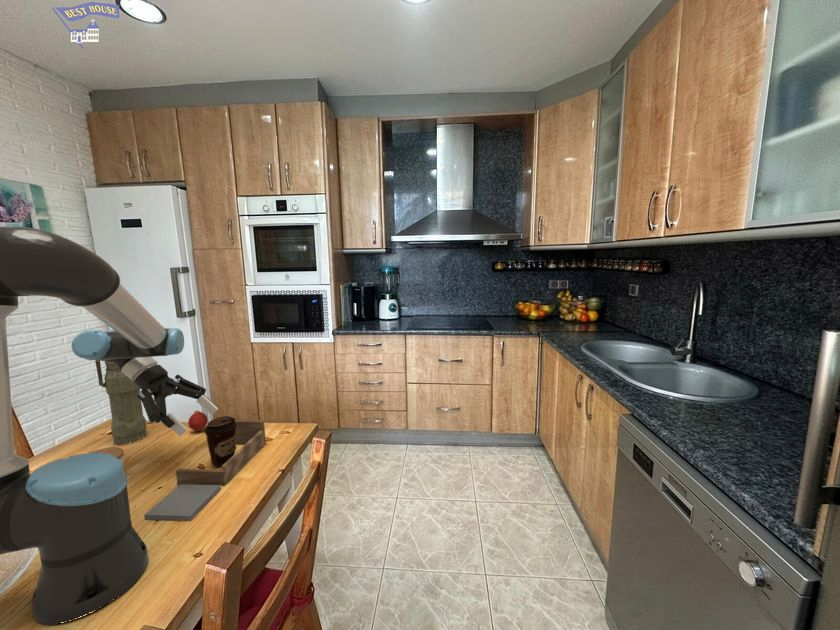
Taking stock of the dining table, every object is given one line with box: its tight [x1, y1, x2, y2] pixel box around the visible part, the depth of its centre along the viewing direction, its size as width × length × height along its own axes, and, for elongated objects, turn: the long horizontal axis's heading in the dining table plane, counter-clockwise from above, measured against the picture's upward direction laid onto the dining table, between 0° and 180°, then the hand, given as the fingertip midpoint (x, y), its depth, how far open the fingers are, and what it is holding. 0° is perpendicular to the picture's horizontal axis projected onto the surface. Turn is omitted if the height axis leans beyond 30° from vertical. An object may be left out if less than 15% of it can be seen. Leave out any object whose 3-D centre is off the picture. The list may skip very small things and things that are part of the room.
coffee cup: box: [203, 415, 237, 469], centre depth 99 cm, size 9×8×13 cm
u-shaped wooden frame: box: [175, 419, 266, 487], centre depth 99 cm, size 22×13×8 cm, turn 178°
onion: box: [187, 409, 209, 432], centre depth 119 cm, size 6×6×8 cm
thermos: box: [94, 360, 148, 445], centre depth 112 cm, size 9×12×35 cm
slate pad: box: [143, 485, 222, 522], centre depth 82 cm, size 11×11×1 cm
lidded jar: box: [85, 446, 125, 466], centre depth 89 cm, size 11×11×9 cm
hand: (200, 421), depth 100 cm, fingers open, 13 cm apart
